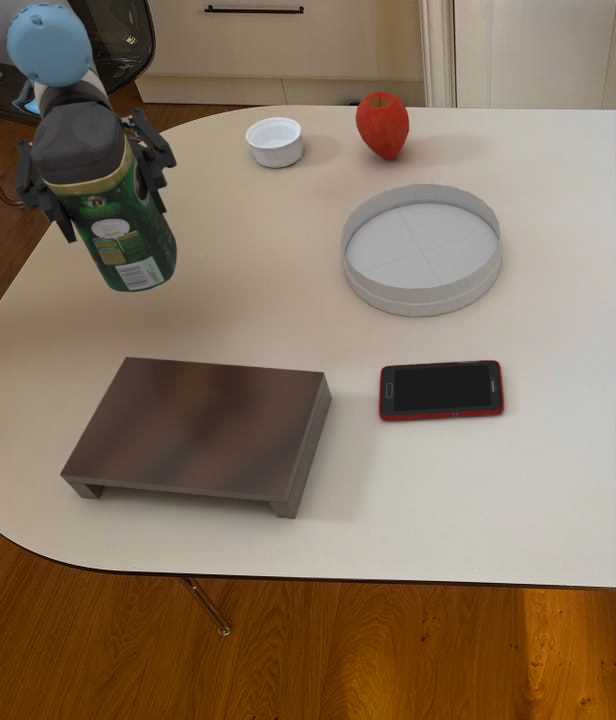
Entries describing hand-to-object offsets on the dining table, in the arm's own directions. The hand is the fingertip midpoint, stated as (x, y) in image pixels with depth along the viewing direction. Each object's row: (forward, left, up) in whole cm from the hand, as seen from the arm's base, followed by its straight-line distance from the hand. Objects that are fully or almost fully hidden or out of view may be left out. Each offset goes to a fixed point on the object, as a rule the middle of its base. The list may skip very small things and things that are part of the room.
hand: (113, 216), depth 70 cm
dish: (+25, +22, -24) cm, 41 cm away
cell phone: (+31, -1, -24) cm, 40 cm away
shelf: (+6, -11, -24) cm, 27 cm away
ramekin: (-3, +45, -24) cm, 51 cm away
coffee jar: (-3, +4, -11) cm, 12 cm away
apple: (+15, +46, -24) cm, 54 cm away
